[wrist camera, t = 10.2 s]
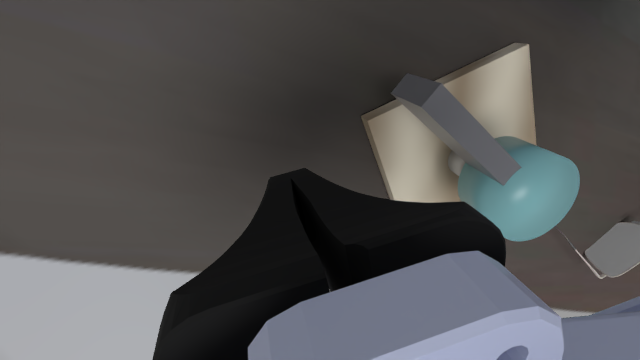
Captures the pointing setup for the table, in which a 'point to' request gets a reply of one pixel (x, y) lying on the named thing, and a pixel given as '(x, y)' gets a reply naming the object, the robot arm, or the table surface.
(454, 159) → the post block
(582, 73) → the table surface
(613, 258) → the eyeglasses
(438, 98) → the teal grey handled piece
